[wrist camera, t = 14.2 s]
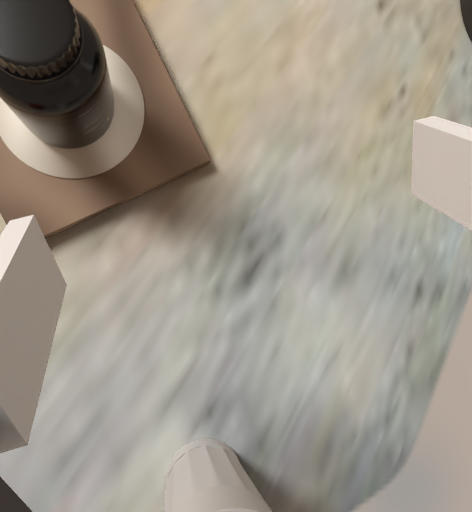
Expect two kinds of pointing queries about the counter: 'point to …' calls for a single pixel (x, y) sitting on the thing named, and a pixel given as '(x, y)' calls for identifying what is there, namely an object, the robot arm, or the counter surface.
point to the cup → (209, 481)
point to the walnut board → (111, 143)
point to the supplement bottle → (54, 72)
